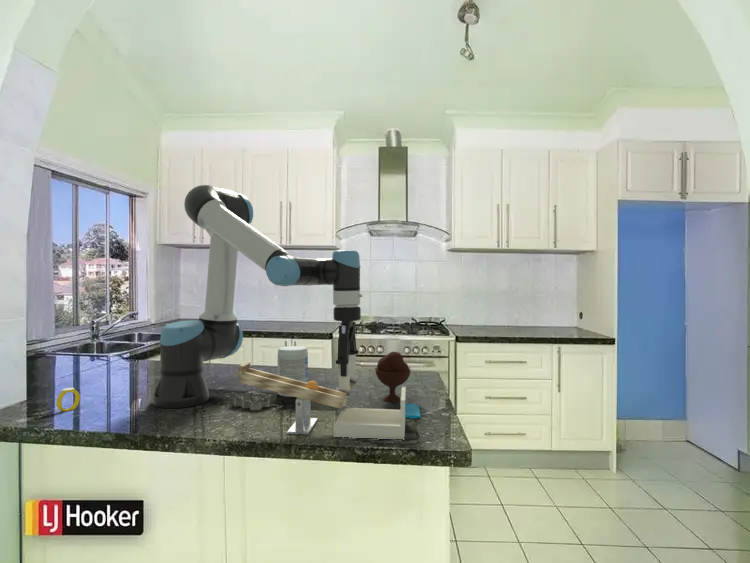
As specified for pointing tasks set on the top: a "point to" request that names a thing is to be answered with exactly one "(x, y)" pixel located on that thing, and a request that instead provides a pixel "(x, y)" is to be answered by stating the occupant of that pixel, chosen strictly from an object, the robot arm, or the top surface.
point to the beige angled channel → (294, 386)
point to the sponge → (412, 410)
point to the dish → (372, 422)
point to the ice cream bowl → (392, 373)
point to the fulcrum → (302, 418)
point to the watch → (59, 399)
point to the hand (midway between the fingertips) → (348, 382)
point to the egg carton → (256, 398)
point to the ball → (312, 385)
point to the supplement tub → (293, 363)
